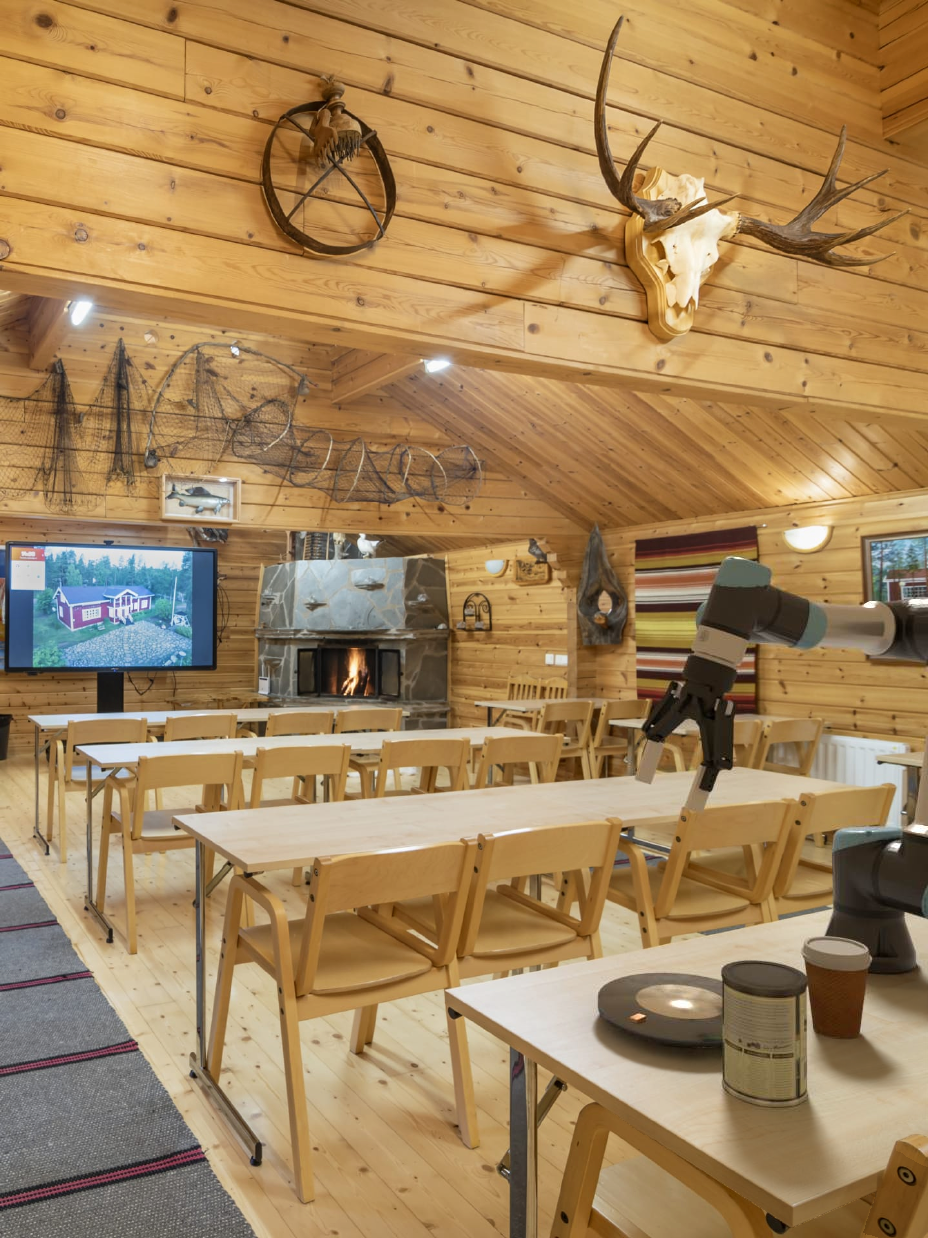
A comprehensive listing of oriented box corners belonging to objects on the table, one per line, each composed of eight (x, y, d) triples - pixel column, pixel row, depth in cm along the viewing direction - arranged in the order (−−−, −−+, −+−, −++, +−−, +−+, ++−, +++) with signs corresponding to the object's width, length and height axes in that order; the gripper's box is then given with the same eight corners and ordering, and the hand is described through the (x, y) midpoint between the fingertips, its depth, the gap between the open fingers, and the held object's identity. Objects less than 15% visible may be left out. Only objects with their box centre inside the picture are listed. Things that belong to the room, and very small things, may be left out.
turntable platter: (660, 971, 153) (660, 958, 153) (799, 1014, 135) (799, 999, 135) (563, 1009, 136) (564, 995, 136) (708, 1064, 119) (708, 1047, 119)
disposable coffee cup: (879, 1047, 129) (879, 958, 129) (806, 1040, 131) (806, 953, 131) (864, 1020, 138) (864, 937, 139) (796, 1014, 140) (796, 933, 140)
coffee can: (711, 1069, 122) (711, 959, 122) (789, 1069, 122) (789, 959, 122) (735, 1108, 111) (735, 988, 112) (821, 1108, 112) (821, 988, 112)
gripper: (648, 639, 149) (604, 765, 149) (747, 669, 126) (695, 818, 126) (686, 652, 152) (642, 776, 152) (789, 684, 129) (738, 830, 129)
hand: (666, 796), depth 139 cm, fingers open, 13 cm apart
